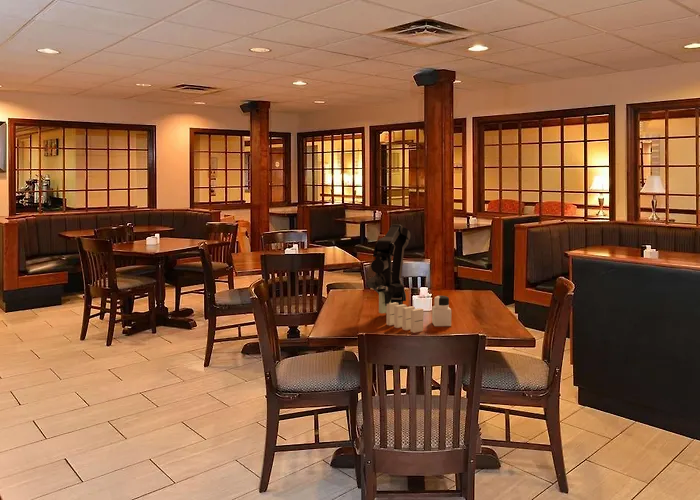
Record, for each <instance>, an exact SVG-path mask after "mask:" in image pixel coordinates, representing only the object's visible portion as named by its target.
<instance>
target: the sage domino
mask: <svg viewBox="0 0 700 500" xmlns="http://www.w3.org/2000/svg"><path fill="white" fill-rule="evenodd" d="M389 303H391V300H390V302H389ZM378 314H387V306H385V294H384V293H383V292H379V295H378Z"/></svg>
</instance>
